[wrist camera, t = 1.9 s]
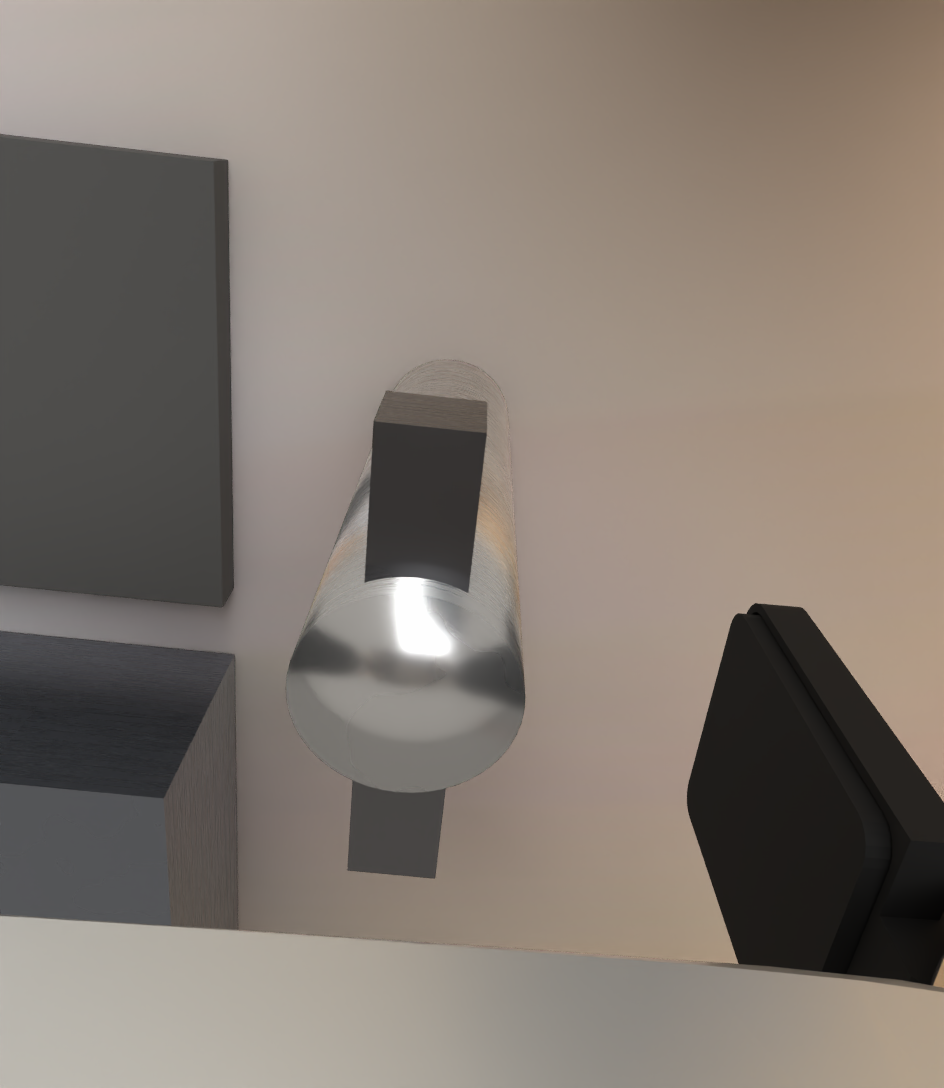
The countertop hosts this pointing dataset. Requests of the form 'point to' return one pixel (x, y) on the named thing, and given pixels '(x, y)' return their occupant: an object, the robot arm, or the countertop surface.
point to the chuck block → (117, 782)
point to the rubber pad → (115, 372)
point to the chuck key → (417, 618)
